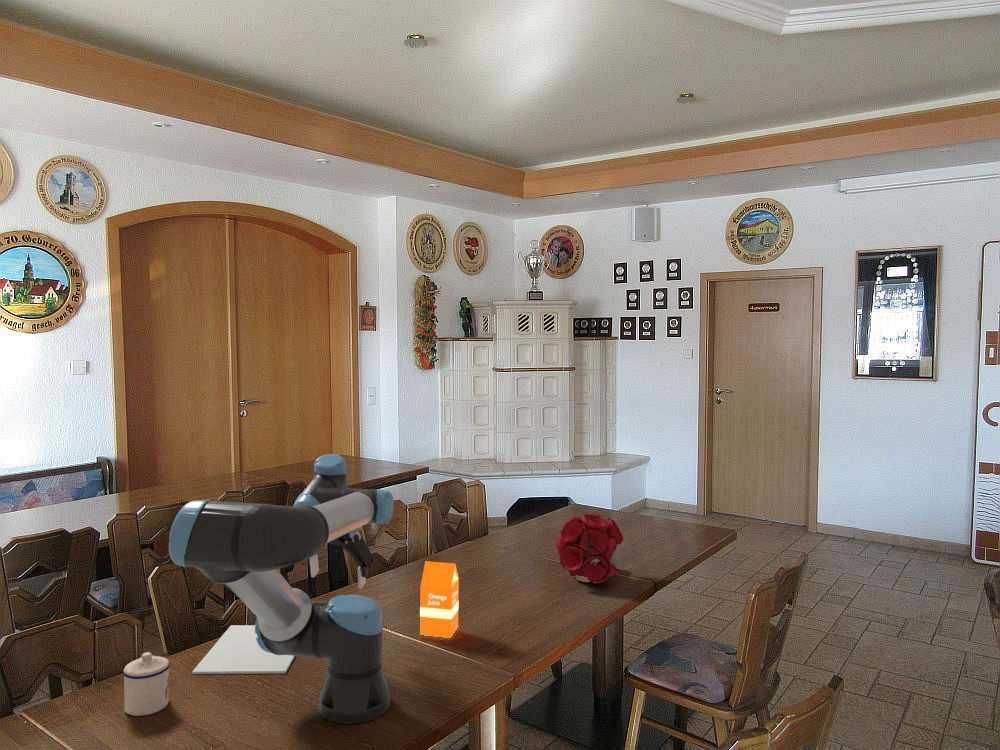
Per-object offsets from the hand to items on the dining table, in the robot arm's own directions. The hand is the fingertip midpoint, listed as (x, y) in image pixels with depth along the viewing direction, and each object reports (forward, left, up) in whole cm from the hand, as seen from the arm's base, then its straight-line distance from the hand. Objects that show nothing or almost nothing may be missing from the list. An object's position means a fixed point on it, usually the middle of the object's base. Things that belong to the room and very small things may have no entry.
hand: (338, 579), depth 186 cm
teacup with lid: (-30, +37, -18) cm, 50 cm away
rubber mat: (-2, +21, -18) cm, 27 cm away
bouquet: (+52, -77, -18) cm, 95 cm away
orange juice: (+7, -26, -18) cm, 33 cm away
